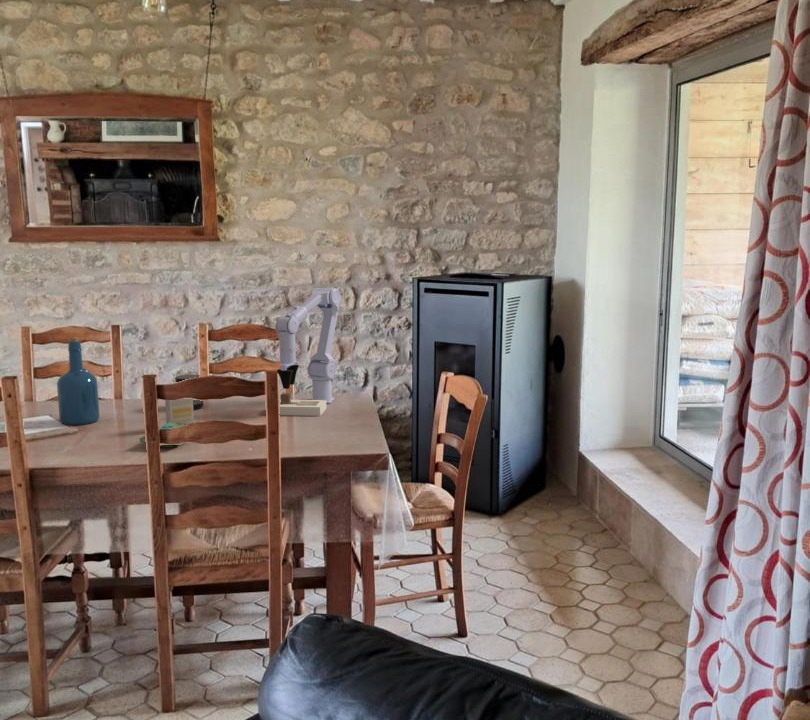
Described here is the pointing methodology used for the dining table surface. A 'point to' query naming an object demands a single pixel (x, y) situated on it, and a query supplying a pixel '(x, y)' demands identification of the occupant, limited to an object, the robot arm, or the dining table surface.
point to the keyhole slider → (285, 398)
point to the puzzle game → (167, 426)
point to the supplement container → (196, 403)
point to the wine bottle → (77, 390)
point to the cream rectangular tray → (303, 408)
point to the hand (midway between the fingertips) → (288, 386)
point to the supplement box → (179, 411)
